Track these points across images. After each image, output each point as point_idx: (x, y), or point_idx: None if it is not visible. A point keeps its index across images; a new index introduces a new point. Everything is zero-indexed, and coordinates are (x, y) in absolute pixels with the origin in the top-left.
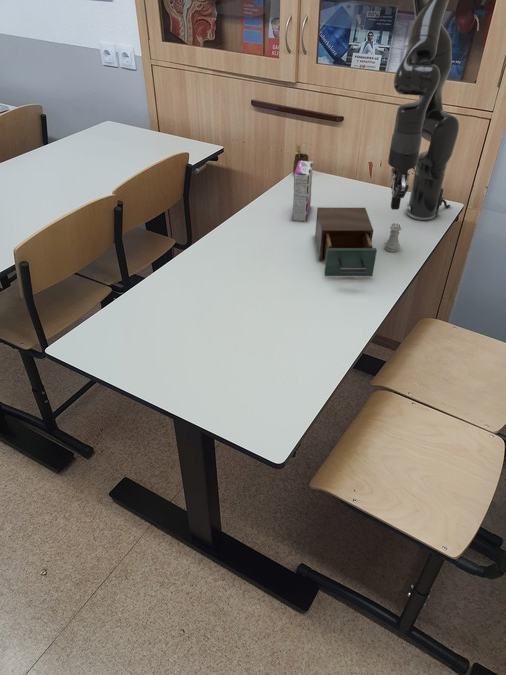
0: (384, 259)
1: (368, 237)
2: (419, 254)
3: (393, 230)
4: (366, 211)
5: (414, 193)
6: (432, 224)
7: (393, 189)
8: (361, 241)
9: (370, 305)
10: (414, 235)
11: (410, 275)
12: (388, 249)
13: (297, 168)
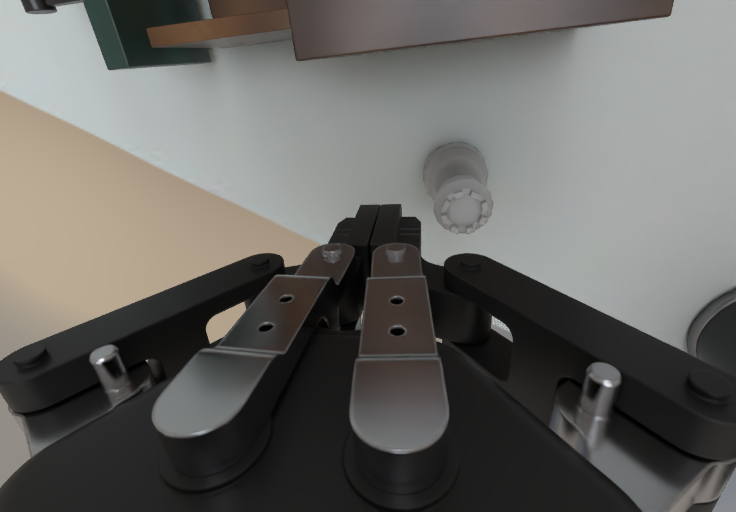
0: (364, 132)
1: (249, 26)
2: None
3: (440, 193)
4: (594, 23)
5: None
6: None
7: (276, 277)
8: None
9: (27, 44)
10: (565, 275)
11: (265, 214)
12: (432, 157)
13: None
